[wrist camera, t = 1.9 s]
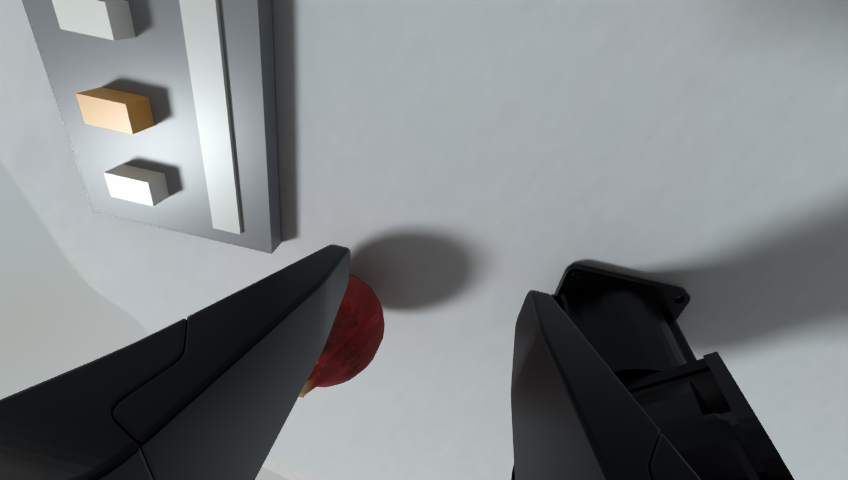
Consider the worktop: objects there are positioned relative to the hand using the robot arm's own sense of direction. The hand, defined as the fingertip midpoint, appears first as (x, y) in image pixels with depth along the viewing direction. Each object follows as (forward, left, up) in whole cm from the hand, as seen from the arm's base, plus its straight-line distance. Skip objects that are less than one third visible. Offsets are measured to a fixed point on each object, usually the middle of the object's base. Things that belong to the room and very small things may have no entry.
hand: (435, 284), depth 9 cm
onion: (+5, +11, -12) cm, 17 cm away
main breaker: (+16, +2, -11) cm, 20 cm away
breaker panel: (+15, 0, -12) cm, 19 cm away
